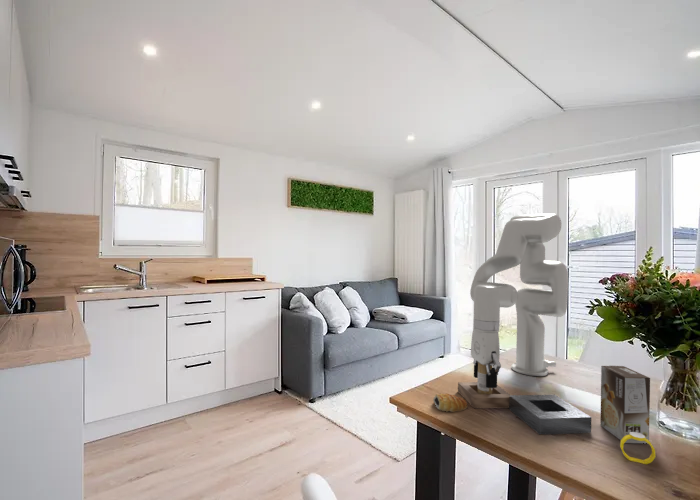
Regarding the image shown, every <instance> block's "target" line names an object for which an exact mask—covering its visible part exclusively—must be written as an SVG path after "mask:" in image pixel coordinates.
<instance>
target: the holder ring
mask: <svg viewBox="0 0 700 500" xmlns="http://www.w3.org/2000/svg"><path fill="white" fill-rule="evenodd" d="M477 382H478V381H469V382H468V381H467V382H464V381H463V382H462V381H461V382H458V383H457V385H458V386H457V392H458V393H459V394H460V395H461V396H462V398H463V399H465V400H466V402H468V404H469V405H471V407H472V408H474V409H502V408H503V409H504V408H506V409H507V408H508V409H509V395H511V394H510V393H509V392H508V391H506V390H505V389H504V388H503V387H502V386H500V385H498V384H497V387H496V388H492V394H478V388H477Z"/></svg>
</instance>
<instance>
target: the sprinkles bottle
mask: <svg viewBox="0 0 700 500" xmlns="http://www.w3.org/2000/svg"><path fill="white" fill-rule="evenodd" d="M489 364H493V362H489ZM492 368H493V366H490V370H491V369H492ZM486 374H488V373H487V368H486V365H482V364H481V363H479V362H478V378H477V381H476V382H477V388H478V394H492V388H487V387H486Z"/></svg>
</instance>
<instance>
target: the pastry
mask: <svg viewBox="0 0 700 500" xmlns="http://www.w3.org/2000/svg"><path fill="white" fill-rule="evenodd" d="M432 401H433V403H435V405H436V406H435V405H434V406H435V407H436V408H437V410H439V411H441V410H442V412H444V411H446V413H448V412H451V413H453V412H462V411H464V410H466V409H468V403H467V402H468V401H467V400H466V399H465V398H464V397H461V396H460V397H459V396H456V395H455V394H450V393H436V394H435V395H434V397H433V400H432Z"/></svg>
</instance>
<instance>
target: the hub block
mask: <svg viewBox="0 0 700 500" xmlns="http://www.w3.org/2000/svg"><path fill="white" fill-rule="evenodd" d="M508 410H509V411H511V412H512V413H513V414H514V415H515V416H517V417H518V418H519V419H520V420H522V422H524V423H525V424H526V425H527V426H529V428H531V429H532V430H534V431H535V433H537V434H538V435H565V434H567V435H569V434H590V433H592V418H593V417H592V416H590V415H589V414H587V413H585V412H584V411H583V410H581V409H579V408H578V407H576V406H574V405H572V404H570V403H569V402H568V401H566V400H564V399H563V398H561V397H560V396H558V395H556V394H524V395H523V394H522V395H521V394H519V395H518V394H515V395H514V394H513V395H511V394H510V395H509V408H508Z"/></svg>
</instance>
